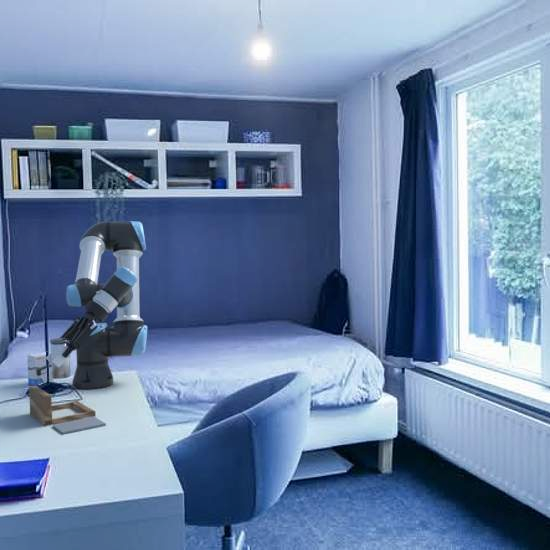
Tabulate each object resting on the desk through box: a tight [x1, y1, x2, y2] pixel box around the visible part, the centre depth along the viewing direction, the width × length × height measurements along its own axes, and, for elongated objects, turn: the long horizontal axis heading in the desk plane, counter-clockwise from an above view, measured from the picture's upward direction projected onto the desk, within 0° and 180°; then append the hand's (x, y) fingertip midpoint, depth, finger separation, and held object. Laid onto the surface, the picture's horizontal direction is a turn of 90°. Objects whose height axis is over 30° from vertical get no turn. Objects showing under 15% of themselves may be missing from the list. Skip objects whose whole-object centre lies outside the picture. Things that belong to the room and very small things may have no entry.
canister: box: [49, 337, 71, 380], centre depth 196 cm, size 6×6×12 cm
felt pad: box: [52, 416, 107, 435], centre depth 185 cm, size 13×9×1 cm
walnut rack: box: [28, 385, 96, 427], centre depth 197 cm, size 16×16×9 cm
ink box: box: [27, 351, 55, 386], centre depth 239 cm, size 8×5×12 cm, turn 143°
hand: (52, 362), depth 194 cm, fingers closed on canister, 5 cm apart
